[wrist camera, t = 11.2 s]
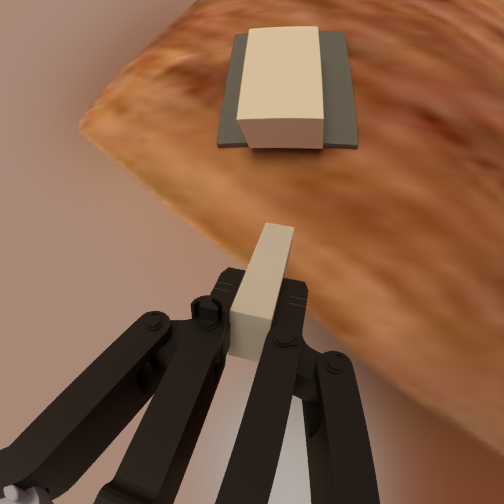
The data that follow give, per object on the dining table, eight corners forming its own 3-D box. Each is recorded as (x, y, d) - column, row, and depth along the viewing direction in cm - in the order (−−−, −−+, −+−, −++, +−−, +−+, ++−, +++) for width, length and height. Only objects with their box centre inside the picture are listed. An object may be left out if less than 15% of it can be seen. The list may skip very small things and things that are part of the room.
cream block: (323, 118, 24) (317, 26, 26) (236, 119, 26) (249, 29, 28) (322, 150, 30) (319, 60, 32) (250, 149, 32) (258, 61, 34)
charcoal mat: (236, 38, 36) (235, 34, 36) (343, 35, 33) (344, 31, 32) (218, 147, 34) (216, 144, 33) (357, 148, 31) (358, 145, 30)
